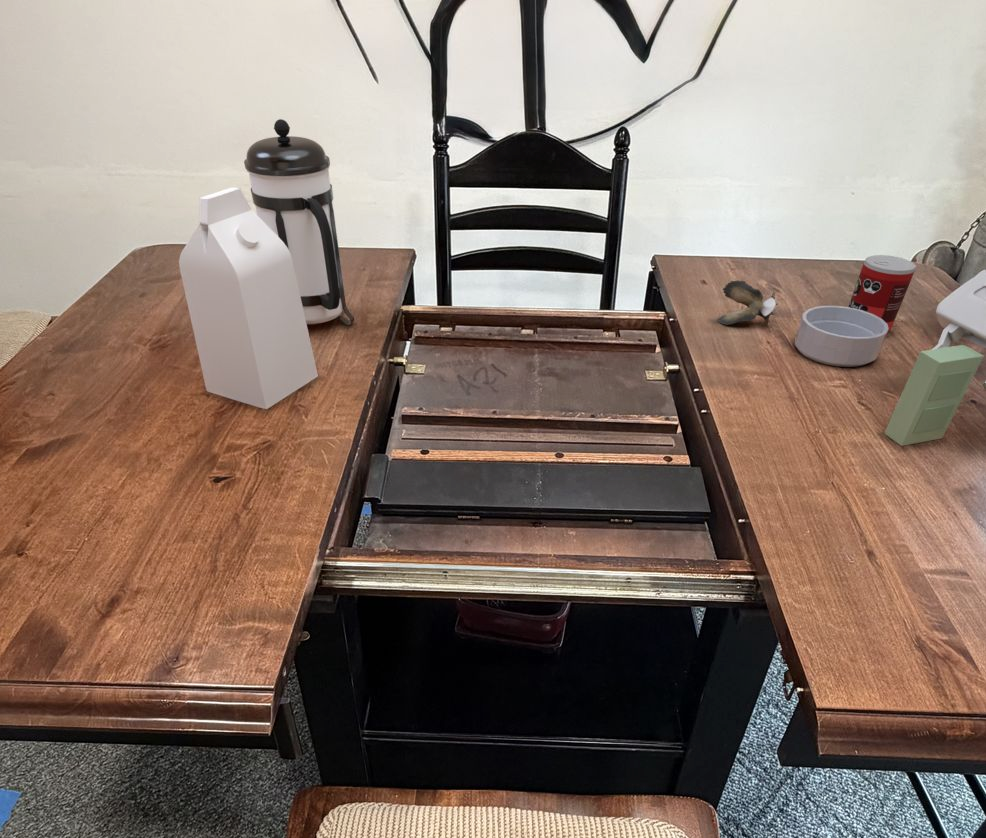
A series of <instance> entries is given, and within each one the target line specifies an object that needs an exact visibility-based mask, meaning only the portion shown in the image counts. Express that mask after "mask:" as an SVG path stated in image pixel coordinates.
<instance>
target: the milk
mask: <svg viewBox="0 0 986 838" xmlns="http://www.w3.org/2000/svg"><path fill="white" fill-rule="evenodd" d="M198 211H199V214H198V215H199V218H198V219H199V220H198V221H199V225H198V226H197V227H196V229H195V230H194V232H193V233H192V235H191V237H190V238H189V240H188V241H187V243H186V245H185V246H184V247H183V249H182V251H181V252H180V255H179V259H178V266H179V267H178V268H179V272H180V277H181V281H182V282H181V283H182V286H183V290H184V295H185V299H186V304H187V308H188V309H187V310H188V313H189V318H190V322H191V328H192V331H193V336H194V341H195V345H196V350H197V354H198V358H199V364H200V368H201V373H202V377H203V380H204V386H205V391H206V392H207V393H211V394H215V395H217V396H221V397H223V398H227V399H230V400H233V401H236V402H240V403H243V404H245V405H246V404H247V405H249V406H253V407H256V408H259V409H260V408H261V409H263V410H268V409H269V408H271V407H273V406H274V405H276V404H278V403H279V402H281V401H283V400H284V399H285V398H287V397H289V396H290V395H291V394H293V393H294V392H296V391H298V390H299V389H301V388H302V387H304V386H306V385H308V384H309V383H310V382H312V381H313V380H315V379H317V378H318V377H319V375H318V369H317V365H316V362H315V356H314V352H313V347H312V342H311V338H310V335H309V333H310V332H309V329H308V324H306V319H305V315H304V310H303V306H302V301H301V297H300V292H299V288H298V283H297V278H296V274H295V269H294V265H293V260H292V257H291V254H290V252H289V250H288V248H287V246H286V245H285V244H284V242H283V241H282V240H281V239H280V238H279V237H278V236H277V235H276V234H275V233H274V232H273V231H272V230H271V229H270V228H269V227H268V226H267V225H266V224H265V223H264V222H263V221H262V220H261V219H260V217H259V216H258V215H257V212H255V211H254V210H252V207H251V205H250V203H249V202H248V200H247V198H246V197H245V194H244V193H243V191H242V190H241V188H238V187H233V186H232V187H228V188H226V189H225V188H224V189H223V190H222V189H221V190H219V191H216V192H213V193H210V194H207V195H204V196H201V197H199V210H198Z"/></svg>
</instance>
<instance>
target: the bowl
mask: <svg viewBox="0 0 986 838" xmlns="http://www.w3.org/2000/svg"><path fill="white" fill-rule="evenodd" d="M888 330H889V328H888V325H887V323H886V322H885V321H884V320H883V319H881V318H879V317H878V316H876V315H874V314H871V313H868V312H866V311H863V310H859V309H855V308H850V307H848V306H841V305H818V306H814V307H811V308H809V309H805V311H803V313H802V314H801V317H800V320H799V324H798V327H797V330H796V333H795V337H794V346H795V347H796V348H797V350H798V351H799V352H800V354H802V355H803V356H804V357H806V358H808V359H810V360H812V361H815V362H817V363H820V364H824V365H828V366H833V367H843V368H851V367H852V368H854V367H855V368H856V367H861V366H865V365H867V364H870V363H872V362H874V361H875V360H876V359H877V358H878V357H879V356H880V355H879V354H880V352H881V350H882V347H883V344H884V342H885V339H886V337H887V336H888V335H887V334H888V333H889V332H888ZM889 331H890V330H889ZM887 332H888V333H887Z"/></svg>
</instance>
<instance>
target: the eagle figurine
mask: <svg viewBox="0 0 986 838" xmlns="http://www.w3.org/2000/svg"><path fill="white" fill-rule="evenodd" d="M722 290H723V293H724V296H725V297H726V298H728V299H730V300H733V302H736V303H738V304H742V305H744V306H746V308H743V309H742V308H741V309H738V310H734V311H731V312H729V313H728V314H723V315H721V316H719V317H718V318H716V321H717V322H718V323H719V324H722V325H734V324H735V323H740V322H744V321H746V322H750V321H753V320H755V319H756V318H757V316H759V317H761V318H762V319H763V320H764V323H765V324H766V325H768V324H769V321H770V316H775V313H774V310H775V308H776V306H778V305H779V302H776V300H775V299H776V296H775V295H776V290H774V291H773V292H772V294H771V296H770V297H769V298H767V299H766V300H764V301H763V299H764V295H763V293H762V292H761V290H760V289H757V288H754V287H753V286H752V285H749V283H747V282H746V281H744V280H740V279H739V280H738V279H737V280H731V281H730V282H728V283H727V284H725V287H723V288H722Z"/></svg>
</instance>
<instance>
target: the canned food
mask: <svg viewBox="0 0 986 838" xmlns="http://www.w3.org/2000/svg"><path fill="white" fill-rule="evenodd" d="M916 266H917V265H916V264H915V263H914V262H912V261H911V260H909V259H906V258H903V257H899V256H895V255H887V254H875V255H870V256H867V257H866V258H865V260H864V262H863V264H862V267H861V269H860V271H859V275H858V278H857V281H856V284H855V286H854V289H853V292H852V295H851V298H850V300H849V302H848V303H849V304H848V306H847V307H850V308H855V309H859V310H863V311H866V312H868V313H871V314H874V315H876V316H878V317H879V318H881V319H883V320H884V321H885V322H886V323H887V325H888V328H889V330H888V332H887V334H888V333H889V332H890V331H891V329H892V328H893V325H894V323H895V321H896V318H897V316H898V314H899V311H900V308H901V307H902V304H903V302H904V298H905V297H906V294H907V291H908V289H909V287H910V284H911V281H912V279H913V276H914V274H915V272H916V268H917V267H916Z"/></svg>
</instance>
